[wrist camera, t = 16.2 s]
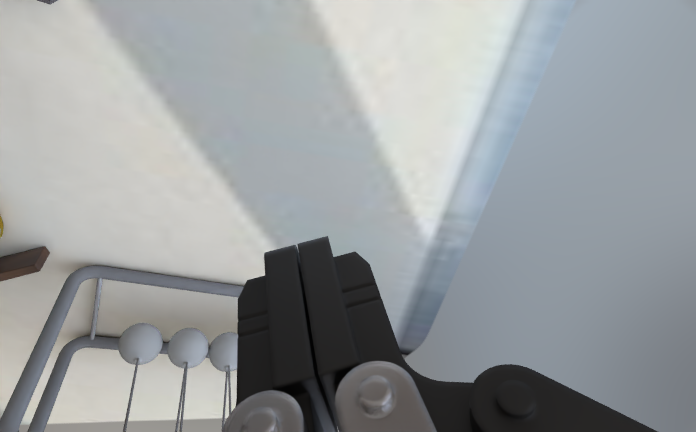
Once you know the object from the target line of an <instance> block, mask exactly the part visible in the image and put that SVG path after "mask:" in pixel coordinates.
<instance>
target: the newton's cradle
mask: <svg viewBox="0 0 696 432" xmlns="http://www.w3.org/2000/svg"><path fill="white" fill-rule="evenodd" d="M91 278H98V280H97V288H96V295H95V303H94V311H93V319H92V326H91V334H90V336H84V337H79V338H76V339H74V340H72V341H70V342H69V343H67V344H66V345H65V346H64V347H63V348H62V350H61V352H60V353H59V356H58V358H57V360H56V363H55V365H54V368H53V370H52V373H51V375H50V378H49V380H48V383H47V385H46V387H45V390H44V392H43V395H42V397H41V400H40V402H39V405H38V407H37V410H36V412H35V414H34V417H33V419H32V422H31V424H30V427H29V429H28V432H44V429H45V427H46V424H47V422H48V419H49V416H50V414H51V411H52V408H53V406H54V403H55V400H56V398H57V395H58V392H59V390H60V387H61V384H62V382H63V379H64V377H65V374H66V371H67V369H68V366H69V363H70V361H71V358H72V355H73V354H74V353H75V352H76V351H77V350H79V349H82V348H89V347H91V348H102V349H113V350H119V353H120V355H121V356H122V358H123V359H124V360H125V361H127V362H128V363H131V364H135V365H136V367H135V372H134V377H133V382H132V388H131V393H130V398H129V403H128V408H127V413H126V419H125V424H124V429H123V432H126V428H127V422H128V417H129V411H130V406H131V400H132V395H133V389H134V384H135V378H136V373H137V368H138V365H141V364H146V363H148V362H150V361H152V360H153V359H154V358H156V356H157V355H158V354H168V356H169V359H170V360H171V362H172V363H173V364H174V365H176V366H177V367H180V368H184V375H183V382H182V389H181V396H180V403H179V409H178V416H177V423H176V430H175V432H177V430H178V423H179V416H180V409H181V402H182V412H181V422H180V432H182V423H183V412H184V401H185V390H186V378H187V368H192V367H195V366H197V365H199V364H200V363H201V362H202V361H203V360H204V359H205V358H210V361H211V363H212V365H213V366H214V367H215V368H217V369H218V370H220V371H225V372H226V382H225V395H224V408H223V421H222V430H223V427H224V419H225V406H226V392H227V378H228V381H229V415H230V414H231V388H230V371H234V370H236V369H237V339H238V334H237V333H233V332H227V333H223V334H221V335H219V336H217V337H216V338H215V339H214V340H213V342H212V344H211V346H210V347H209V344H208V340H207V338H206V336H205V335H204V333H202V332H201V331H200V330H198V329H195V328H185V329H182V330H180V331H178V332H177V333H175V334H174V335H173V336H172V338H171V339H170V341H169V343H163V339H162V335H161V333H160V331H159V330H158V329H157V328H156V327H155V326H153V325H151V324H148V323H138V324H135V325H132V326H130V327H129V328H127V329H126V330H125V331H124V332H123V334H122V335H121V337H120V339H119V338H109V337H99V336H95V330H96V323H97V316H98V308H99V301H100V294H101V286H102V279H108V280H116V281H123V282H130V283H138V284H145V285H152V286H160V287H167V288H174V289H181V290H189V291H196V292H203V293H211V294H218V295H225V296H233V297H239V296H240V294H241V292H242V290H243V288H244V287H243V286H236V285H230V284H223V283H216V282H209V281H202V280H195V279H188V278H181V277H175V276H168V275H161V274H154V273H147V272H140V271H133V270H126V269H120V268H113V267H106V266H87V267H83V268H80V269H78V270H76V271H74V272H73V273H71V274H70V275H69V277H68V278H67V279H66V281H65V283H64V285H63V287H62V289H61V292H60V294H59V296H58V298H57V300H56V302H55V304H54V306H53V309H52V311H51V313H50V315H49V317H48V319H47V321H46V323H45V326H44V328H43V330H42V332H41V334H40V336H39V338H38V341H37V343H36V345H35V347H34V349H33V351H32V353H31V355H30V358H29V360H28V362H27V364H26V366H25V368H24V370H23V372H22V375H21V377H20V379H19V381H18V383H17V385H16V387H15V389H14V392H13V394H12V396H11V398H10V400H9V402H8V404H7V406H6V409H5V411H4V413H3V415H2V417H1V419H0V432H19V426H20V423H21V421H22V418H23V416H24V414H25V411H26V409H27V407H28V404H29V402H30V400H31V397H32V395H33V393H34V390H35V388H36V386H37V383H38V381H39V379H40V376H41V374H42V372H43V369H44V367H45V365H46V362H47V360H48V358H49V355H50V353H51V351H52V348H53V346H54V344H55V341H56V339H57V337H58V334H59V332H60V330H61V327H62V325H63V323H64V320H65V318H66V316H67V313H68V311H69V309H70V306H71V304H72V302H73V299H74V297H75V295H76V292H77V290H78V288H79V285H80V284H81V282H83V281H84V280H87V279H91ZM183 388H184V390H183ZM182 395H183V401H182Z"/></svg>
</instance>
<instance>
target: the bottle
mask: <svg viewBox="0 0 696 432" xmlns="http://www.w3.org/2000/svg"><path fill="white" fill-rule="evenodd" d="M2 234H3V221H2V219H1V216H0V238H1V237H2Z"/></svg>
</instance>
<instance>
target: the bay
mask: <svg viewBox="0 0 696 432" xmlns="http://www.w3.org/2000/svg"><path fill="white" fill-rule="evenodd" d="M49 254H50V252H49V251H48V250H47V248H46V247H41V248H37V249H33V250H29V251H25V252H21V253H17V254H13V255H9V256H5V257H1V258H0V281H4V280H7V279H11V278H15V277H19V276H23V275H27V274H31V273H35V272H39V271H40V270H41V268H42V266H43V265H44V263H45V261H46V259H47V257H48V255H49Z"/></svg>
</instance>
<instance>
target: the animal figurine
mask: <svg viewBox="0 0 696 432" xmlns="http://www.w3.org/2000/svg"><path fill="white" fill-rule="evenodd" d="M38 1H41V2H44V3H47V4H52V3H54V2H56V1H57V0H38Z"/></svg>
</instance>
